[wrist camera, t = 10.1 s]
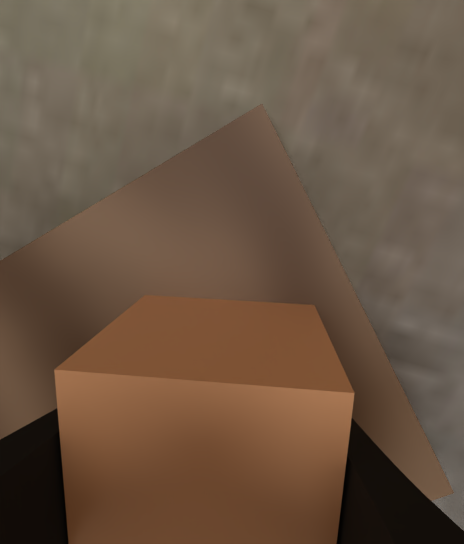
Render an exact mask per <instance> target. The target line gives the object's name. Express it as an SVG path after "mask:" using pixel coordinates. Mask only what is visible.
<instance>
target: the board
mask: <svg viewBox="0 0 464 544" xmlns="http://www.w3.org/2000/svg"><path fill="white" fill-rule="evenodd" d="M144 295H153V296H170V297H187V298H205V299H222V300H239V301H256V302H273V303H290V304H307V305H315V307H316V310H317V312H318V314H319V316H320V318H321V321H322V323H323V325H324V327H325V329H326V332H327V334H328V336H329V338H330V340H331V343H332V345H333V347H334V349H335V351H336V353H337V356H338V358H339V360H340V362H341V364H342V367H343V369H344V371H345V373H346V375H347V378H348V380H349V382H350V384H351V386H352V389H353V391H354V393H355V394H354V402H353V411H352V418H353V419H354V420H355V422H356V423H357V424H358V425H359V426H360V427H361V428H362V429H363V430H364V432H365V433H366V434H367V435H368V436H369V437H370V438H371V439H372V440H373V442H374V443H375V444H376V445H377V446H378V447H379V448H380V449H381V450H382V451H383V453H384V454H385V455H386V456H387V457H388V458H389V459H390V460H391V461H392V462H393V463H394V464H395V465H396V466H397V467H398V468H399V469H400V471H401V472H402V473H403V474H404V475H405V476H406V477H407V478H408V479H409V480H410V481H411V482H412V483H413V484H414V485H415V486H416V487H417V488H418V489H419V490H420V491H421V492H422V493H423V494H424V495H425V496H426V497H427V498H429V499H430V500H431V501H432V500H435V499H438V498H441V497H444V496H447V495H450V494H453V493H454V492H453V490H452V488H451V486H450V484H449V482H448V480H447V478H446V476H445V474H444V472H443V470H442V468H441V466H440V464H439V462H438V459H437V457H436V455H435V453H434V451H433V449H432V447H431V445H430V443H429V441H428V439H427V437H426V435H425V433H424V431H423V429H422V427H421V425H420V423H419V421H418V419H417V417H416V415H415V413H414V411H413V409H412V407H411V405H410V403H409V401H408V399H407V397H406V395H405V393H404V391H403V388H402V386H401V384H400V382H399V380H398V378H397V376H396V374H395V372H394V370H393V368H392V366H391V364H390V362H389V360H388V358H387V356H386V354H385V352H384V350H383V348H382V346H381V344H380V342H379V340H378V338H377V336H376V334H375V332H374V330H373V328H372V326H371V324H370V322H369V320H368V318H367V315H366V313H365V311H364V309H363V307H362V305H361V303H360V301H359V299H358V297H357V295H356V293H355V291H354V289H353V287H352V285H351V283H350V281H349V279H348V277H347V275H346V273H345V271H344V269H343V267H342V265H341V263H340V261H339V259H338V257H337V255H336V253H335V251H334V249H333V247H332V244H331V242H330V240H329V238H328V236H327V234H326V232H325V230H324V228H323V226H322V224H321V222H320V220H319V218H318V216H317V214H316V212H315V210H314V208H313V206H312V204H311V202H310V200H309V198H308V196H307V194H306V192H305V190H304V188H303V186H302V184H301V182H300V180H299V178H298V176H297V173H296V171H295V169H294V167H293V165H292V163H291V161H290V159H289V157H288V155H287V153H286V151H285V149H284V147H283V145H282V143H281V141H280V139H279V137H278V135H277V133H276V131H275V129H274V127H273V125H272V123H271V121H270V119H269V117H268V115H267V113H266V111H265V109H264V107H263V105H262V104H261V105H259V106H257V107H256V108H254V109H252V110H251V111H249V112H247V113H246V114H244V115H242V116H241V117H239V118H237V119H236V120H234V121H232V122H231V123H229V124H227V125H226V126H224V127H222V128H221V129H219V130H217V131H216V132H214V133H212V134H211V135H209V136H207V137H206V138H204V139H202V140H201V141H199V142H197V143H196V144H194V145H192V146H191V147H189V148H187V149H186V150H184V151H182V152H181V153H179V154H177V155H176V156H174V157H172V158H171V159H169V160H167V161H166V162H164V163H162V164H161V165H159V166H157V167H156V168H154V169H152V170H151V171H149V172H147V173H146V174H144V175H142V176H141V177H139V178H137V179H136V180H134V181H132V182H131V183H129V184H127V185H126V186H124V187H122V188H121V189H119V190H117V191H116V192H114V193H112V194H111V195H109V196H107V197H106V198H104V199H102V200H101V201H99V202H97V203H96V204H94V205H92V206H91V207H89V208H87V209H86V210H84V211H82V212H81V213H79V214H77V215H76V216H74V217H72V218H71V219H69V220H67V221H66V222H64V223H62V224H61V225H59V226H57V227H56V228H54V229H52V230H51V231H49V232H47V233H46V234H44V235H42V236H41V237H39V238H37V239H36V240H34V241H32V242H31V243H29V244H27V245H26V246H24V247H22V248H21V249H19V250H18V251H16V252H14V253H13V254H11V255H9V256H8V257H6V258H4V259H3V260H1V261H0V439H2V438H4V437H6V436H8V435H9V434H11V433H13V432H15V431H17V430H18V429H20V428H22V427H24V426H26V425H28V424H29V423H31V422H33V421H35V420H37V419H38V418H40V417H42V416H44V415H45V414H47V413H49V412H51V411H53V410H54V409H56V408H57V397H56V385H55V373H54V369H56V368H57V367H58V366H59V365H60V364H62V363H63V362H64V361H65V360H67V359H68V358H69V357H70V356H71V355H73V354H74V353H75V352H76V351H77V350H79V349H80V348H81V347H82V346H84V345H85V344H86V343H87V342H88V341H90V340H91V339H92V338H93V337H94V336H96V335H97V334H98V333H99V332H101V331H102V330H103V329H104V328H105V327H107V326H108V325H109V324H110V323H111V322H113V321H114V320H115V319H116V318H118V317H119V316H120V315H121V314H122V313H124V312H125V311H126V310H127V309H128V308H130V307H131V306H132V305H133V304H135V303H136V302H137V301H138V300H139V299H141V298H142V297H143V296H144Z"/></svg>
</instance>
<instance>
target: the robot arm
mask: <svg viewBox="0 0 464 544" xmlns="http://www.w3.org/2000/svg"><path fill="white" fill-rule="evenodd" d="M0 544H69V542H68V530H67V518H66V506H65V494H64V482H63V469H62V457H61V445H60V433H59V421H58V409H57V408H56V409H54V410H53V411H51V412H49V413H47V414H45V415H44V416H42V417H40V418H38V419H37V420H35V421H33V422H31V423H29V424H28V425H26V426H24V427H22V428H20V429H18V430H17V431H15V432H13V433H11V434H9V435H8V436H6V437H4V438H2V439H0ZM337 544H464V531H463V530H462V529H461V528H460V527H458V526H457V525H456V524H455V523H454V522H453V521H452V520H451V519H450V518H449V517H448V516H447V515H446V514H444V513H443V512H442V511H441V510H440V509H439V508H438V507H437V506H436V505H435V504H434V503H433V502H432V501H431V500H430V499H429V498H427V497H426V496H425V495H424V494H423V493H422V492H421V491H420V490H419V489H418V488H417V487H416V486H415V485H414V484H413V483H412V482H411V481H410V480H409V479H408V478H407V477H406V476H405V475H404V474H403V473H402V472H401V471H400V469H399V468H398V467H397V466H396V465H395V464H394V463H393V462H392V461H391V460H390V459H389V458H388V457H387V456H386V455H385V454H384V453H383V451H382V450H381V449H380V448H379V447H378V446H377V445H376V444H375V443H374V442H373V440H372V439H371V438H370V437H369V436H368V435H367V434H366V433H365V432H364V430H363V429H362V428H361V427H360V426H359V425H358V424H357V423H356V422H355V420H354V419H353V418H352V419H351V427H350V436H349V444H348V452H347V461H346V469H345V477H344V486H343V494H342V502H341V511H340V519H339V527H338V536H337Z"/></svg>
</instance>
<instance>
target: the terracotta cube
mask: <svg viewBox="0 0 464 544" xmlns="http://www.w3.org/2000/svg"><path fill="white" fill-rule="evenodd" d="M54 373H55V385H56V397H57V409H58V421H59V433H60V445H61V457H62V469H63V482H64V494H65V506H66V518H67V530H68V542H69V544H337V536H338V527H339V519H340V511H341V502H342V494H343V486H344V477H345V469H346V461H347V452H348V444H349V436H350V427H351V419H352V411H353V402H354V394H355V393H354V391H353V389H352V386H351V384H350V382H349V380H348V378H347V375H346V373H345V371H344V369H343V367H342V364H341V362H340V360H339V358H338V356H337V353H336V351H335V349H334V347H333V345H332V343H331V340H330V338H329V336H328V334H327V332H326V329H325V327H324V325H323V323H322V321H321V318H320V316H319V314H318V312H317V310H316V307H315V305H307V304H290V303H273V302H256V301H239V300H222V299H205V298H187V297H170V296H153V295H144V296H143V297H142V298H141V299H139V300H138V301H137V302H136V303H135V304H133V305H132V306H131V307H130V308H128V309H127V310H126V311H125V312H124V313H122V314H121V315H120V316H119V317H118V318H116V319H115V320H114V321H113V322H111V323H110V324H109V325H108V326H107V327H105V328H104V329H103V330H102V331H101V332H99V333H98V334H97V335H96V336H94V337H93V338H92V339H91V340H90V341H88V342H87V343H86V344H85V345H84V346H82V347H81V348H80V349H79V350H77V351H76V352H75V353H74V354H73V355H71V356H70V357H69V358H68V359H67V360H65V361H64V362H63V363H62V364H60V365H59V366H58V367H57V368H56V369H54Z"/></svg>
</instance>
